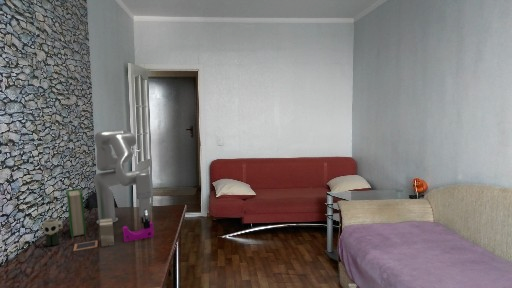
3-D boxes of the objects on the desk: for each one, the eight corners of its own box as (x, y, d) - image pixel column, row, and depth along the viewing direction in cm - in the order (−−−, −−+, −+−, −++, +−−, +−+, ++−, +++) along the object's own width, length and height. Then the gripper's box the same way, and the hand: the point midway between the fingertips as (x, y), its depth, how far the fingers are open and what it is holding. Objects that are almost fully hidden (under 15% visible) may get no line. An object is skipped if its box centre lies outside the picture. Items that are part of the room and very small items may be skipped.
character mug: (39, 248, 185) (37, 224, 184) (42, 244, 192) (39, 220, 190) (63, 244, 189) (61, 220, 188) (65, 240, 195) (62, 217, 194)
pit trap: (74, 244, 188) (74, 244, 188) (97, 241, 192) (97, 240, 192) (73, 251, 179) (73, 250, 179) (97, 247, 183) (97, 246, 183)
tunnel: (101, 239, 194) (100, 219, 193) (113, 237, 196) (112, 217, 195) (101, 247, 183) (99, 225, 182) (114, 244, 185) (112, 223, 184)
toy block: (152, 233, 200) (151, 220, 200) (153, 237, 195) (152, 223, 194) (123, 238, 194) (122, 225, 194) (124, 242, 189) (123, 228, 188)
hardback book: (86, 235, 203) (82, 193, 201) (71, 237, 200) (67, 195, 198) (83, 227, 219) (80, 188, 217) (70, 229, 215) (66, 190, 213)
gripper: (135, 192, 202) (137, 222, 203) (138, 199, 186) (140, 231, 188) (149, 191, 205) (151, 220, 206) (152, 197, 189) (155, 229, 190)
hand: (145, 225), depth 197 cm, fingers open, 9 cm apart
